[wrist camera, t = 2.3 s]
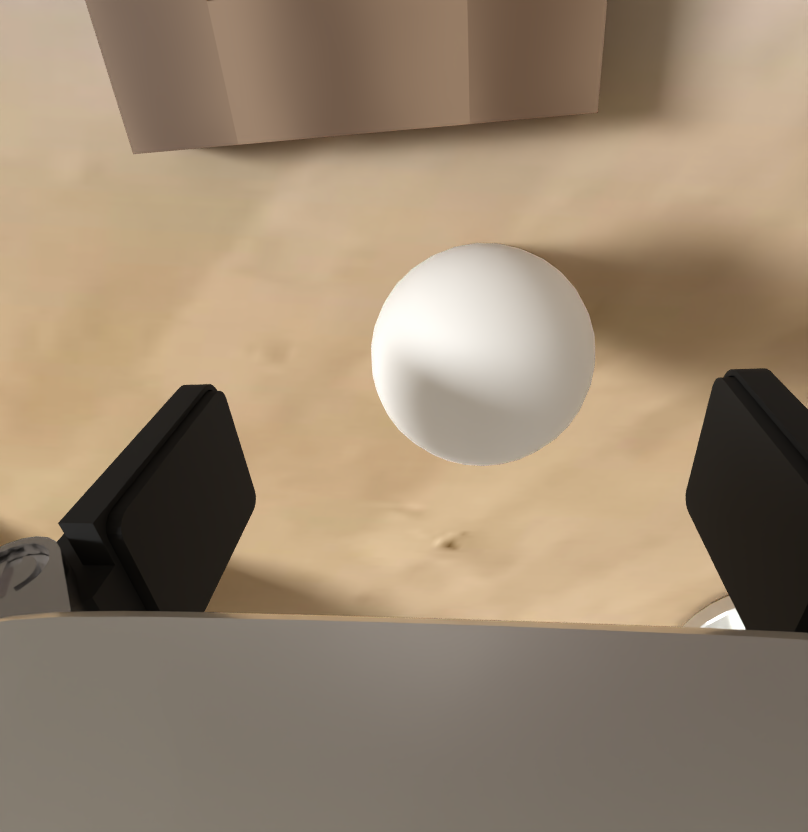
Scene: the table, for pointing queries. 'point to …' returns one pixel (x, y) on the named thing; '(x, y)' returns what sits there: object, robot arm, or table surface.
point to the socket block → (342, 66)
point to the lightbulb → (483, 354)
